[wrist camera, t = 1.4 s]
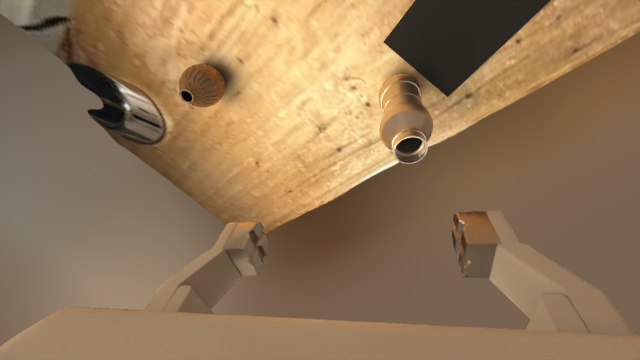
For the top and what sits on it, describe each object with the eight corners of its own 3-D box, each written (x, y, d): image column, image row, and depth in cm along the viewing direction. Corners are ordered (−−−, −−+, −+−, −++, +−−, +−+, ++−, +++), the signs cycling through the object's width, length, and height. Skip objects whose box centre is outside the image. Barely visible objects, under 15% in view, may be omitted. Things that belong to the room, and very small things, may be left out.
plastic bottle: (426, 92, 45) (454, 155, 29) (391, 115, 48) (399, 182, 33) (406, 60, 43) (424, 110, 27) (370, 87, 46) (368, 145, 30)
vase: (216, 104, 53) (192, 124, 46) (187, 75, 50) (157, 91, 43) (237, 83, 50) (215, 101, 43) (208, 51, 47) (179, 64, 40)
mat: (520, -136, 29) (521, -137, 29) (594, -43, 32) (596, -43, 32) (383, 41, 42) (383, 42, 41) (447, 96, 45) (447, 97, 45)
